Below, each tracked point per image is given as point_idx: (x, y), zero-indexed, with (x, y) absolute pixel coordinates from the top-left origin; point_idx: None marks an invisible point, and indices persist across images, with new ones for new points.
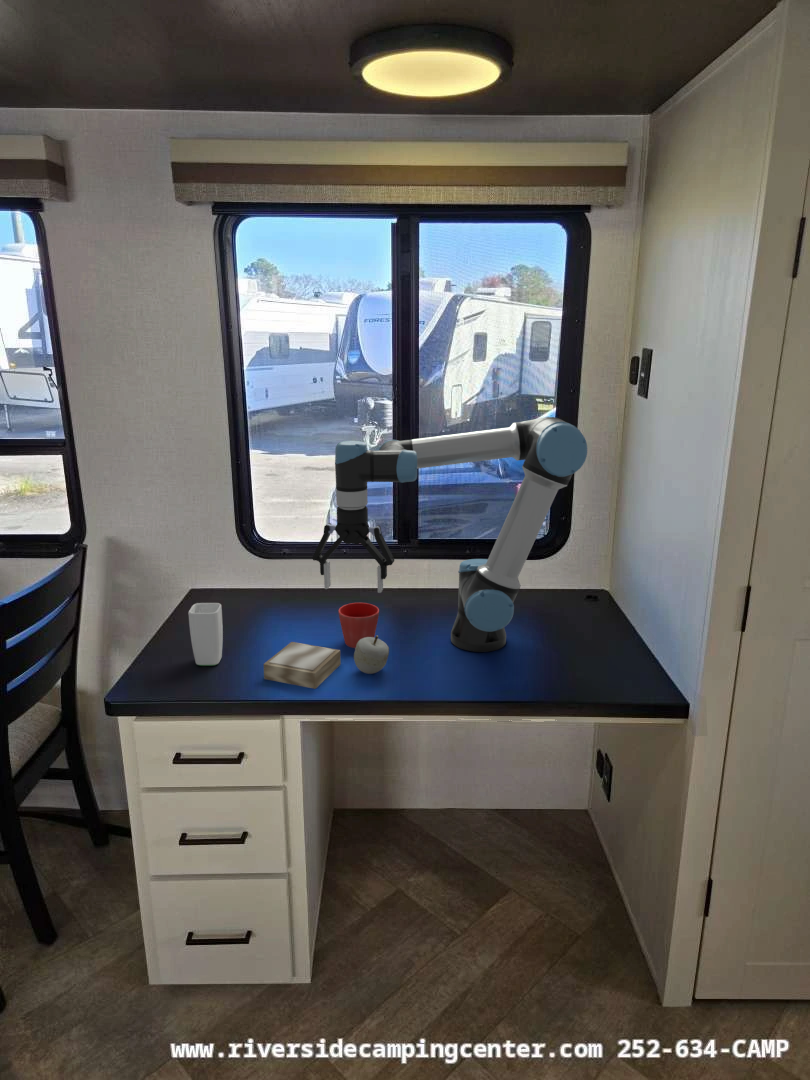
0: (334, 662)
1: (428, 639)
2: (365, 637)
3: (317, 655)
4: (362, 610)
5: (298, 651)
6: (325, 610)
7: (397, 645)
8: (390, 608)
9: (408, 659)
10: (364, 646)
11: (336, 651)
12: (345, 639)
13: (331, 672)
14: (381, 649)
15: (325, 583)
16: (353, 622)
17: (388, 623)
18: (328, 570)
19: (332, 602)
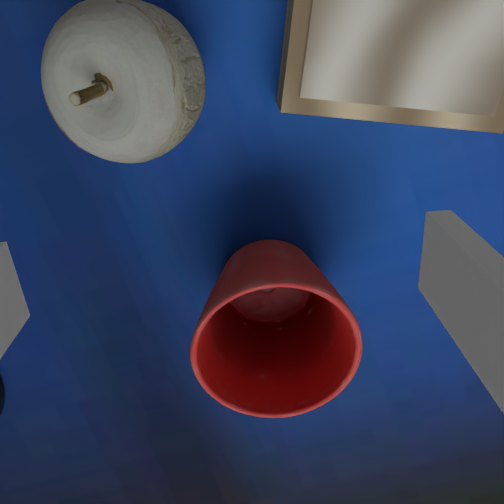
0: (285, 48)
1: (64, 355)
2: (154, 119)
3: (358, 18)
4: (280, 389)
5: (453, 36)
6: (436, 446)
7: (139, 294)
8: (252, 497)
9: (60, 208)
10: (124, 27)
11: (292, 94)
12: (308, 257)
13: (286, 15)
14: (52, 54)
15: (461, 228)
16: (273, 273)
17: (224, 418)
18: (488, 335)
19: (428, 492)
